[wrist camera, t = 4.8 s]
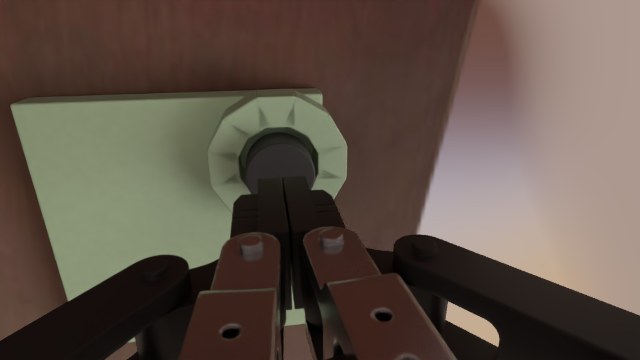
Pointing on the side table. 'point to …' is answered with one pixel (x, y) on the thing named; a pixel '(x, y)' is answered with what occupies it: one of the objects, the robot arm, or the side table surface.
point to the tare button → (278, 160)
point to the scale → (158, 171)
